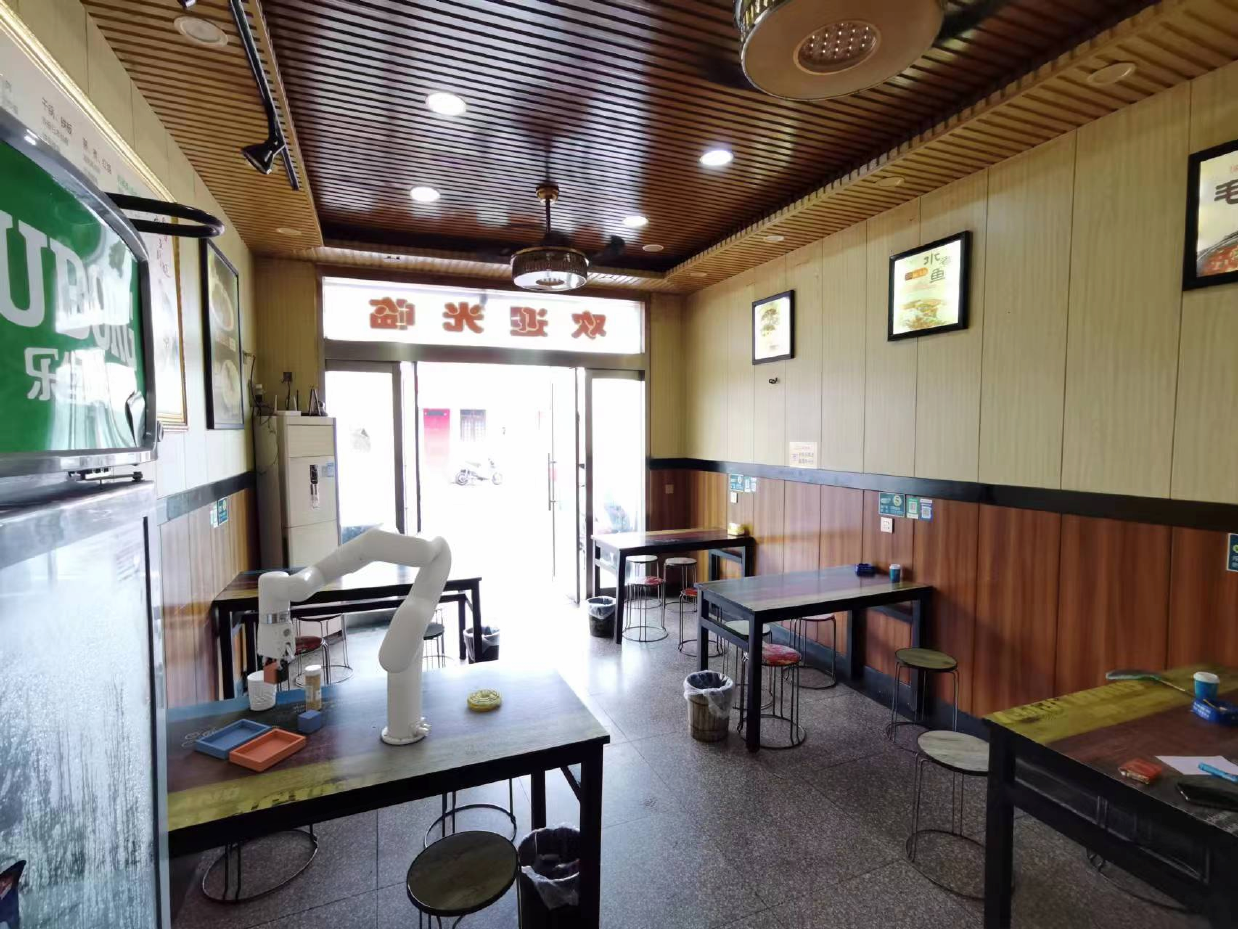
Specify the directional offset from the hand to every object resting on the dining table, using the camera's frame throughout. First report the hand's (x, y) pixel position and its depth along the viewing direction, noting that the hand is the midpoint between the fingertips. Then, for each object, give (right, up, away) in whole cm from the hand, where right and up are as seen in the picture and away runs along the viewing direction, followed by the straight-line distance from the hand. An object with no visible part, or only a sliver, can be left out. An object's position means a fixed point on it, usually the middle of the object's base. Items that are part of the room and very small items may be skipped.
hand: (276, 679), depth 168 cm
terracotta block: (0, 0, 0) cm, 0 cm away
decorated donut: (+54, -17, +23) cm, 61 cm away
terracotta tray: (+2, -18, -7) cm, 19 cm away
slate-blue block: (+6, -17, +7) cm, 19 cm away
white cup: (-16, -16, +20) cm, 30 cm away
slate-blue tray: (-11, -17, -2) cm, 20 cm away
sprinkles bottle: (+1, -16, +18) cm, 25 cm away
